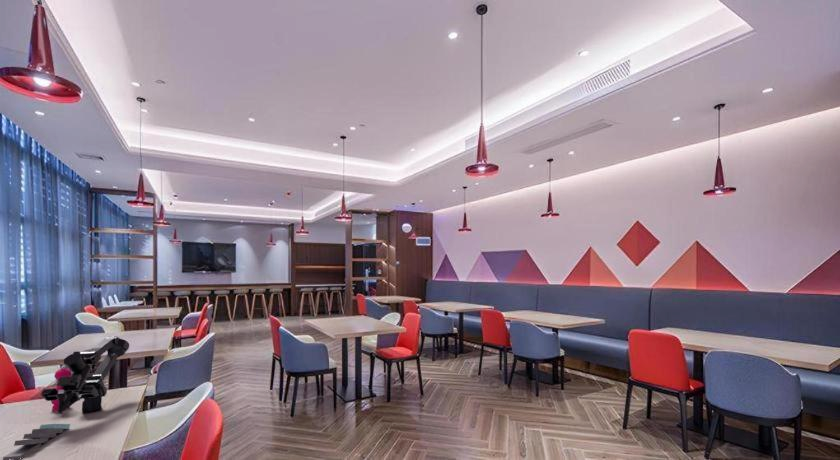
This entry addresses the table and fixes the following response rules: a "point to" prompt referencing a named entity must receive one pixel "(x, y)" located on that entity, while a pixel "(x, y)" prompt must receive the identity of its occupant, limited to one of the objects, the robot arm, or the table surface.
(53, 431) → the domino
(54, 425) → the domino
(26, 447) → the domino
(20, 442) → the domino
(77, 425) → the table surface
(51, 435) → the domino
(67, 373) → the pepper mill
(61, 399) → the robot arm
